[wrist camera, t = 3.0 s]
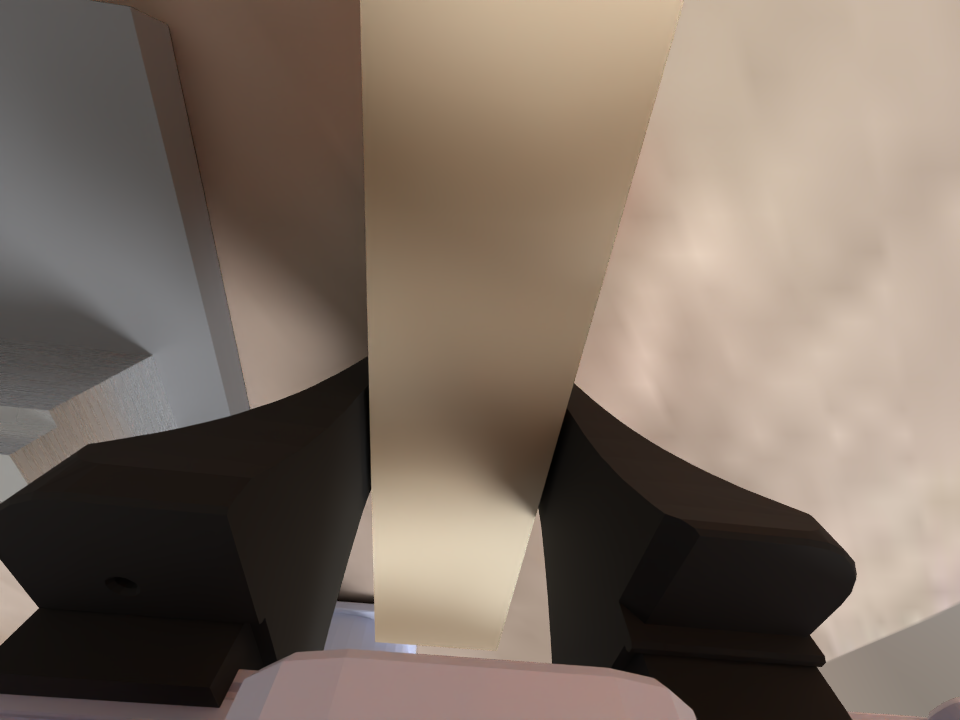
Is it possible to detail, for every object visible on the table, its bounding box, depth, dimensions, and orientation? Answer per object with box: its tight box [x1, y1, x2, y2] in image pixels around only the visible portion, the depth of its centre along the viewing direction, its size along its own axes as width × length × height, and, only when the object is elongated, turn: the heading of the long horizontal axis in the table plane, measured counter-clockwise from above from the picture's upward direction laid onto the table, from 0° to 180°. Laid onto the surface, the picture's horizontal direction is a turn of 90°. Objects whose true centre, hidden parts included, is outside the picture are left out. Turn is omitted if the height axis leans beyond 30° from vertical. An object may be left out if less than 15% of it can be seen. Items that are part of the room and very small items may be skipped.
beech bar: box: [360, 0, 684, 651], centre depth 10 cm, size 16×4×5 cm, turn 173°
